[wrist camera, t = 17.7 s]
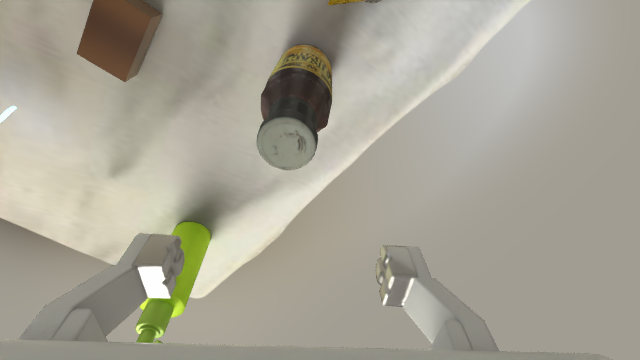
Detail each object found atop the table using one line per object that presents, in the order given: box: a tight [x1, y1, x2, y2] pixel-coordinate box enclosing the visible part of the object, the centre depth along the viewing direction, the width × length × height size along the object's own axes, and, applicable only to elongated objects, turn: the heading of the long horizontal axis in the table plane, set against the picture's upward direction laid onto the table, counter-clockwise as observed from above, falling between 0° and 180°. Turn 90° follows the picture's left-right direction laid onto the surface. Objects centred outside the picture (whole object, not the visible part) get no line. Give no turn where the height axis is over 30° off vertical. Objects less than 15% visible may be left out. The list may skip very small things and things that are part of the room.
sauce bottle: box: [257, 45, 332, 170], centre depth 29 cm, size 7×6×20 cm
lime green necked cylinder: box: [135, 222, 211, 343], centre depth 43 cm, size 6×7×20 cm
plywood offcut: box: [77, 0, 162, 82], centre depth 33 cm, size 8×5×3 cm, turn 143°
